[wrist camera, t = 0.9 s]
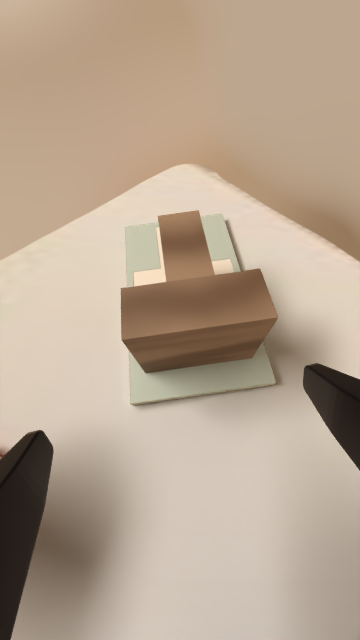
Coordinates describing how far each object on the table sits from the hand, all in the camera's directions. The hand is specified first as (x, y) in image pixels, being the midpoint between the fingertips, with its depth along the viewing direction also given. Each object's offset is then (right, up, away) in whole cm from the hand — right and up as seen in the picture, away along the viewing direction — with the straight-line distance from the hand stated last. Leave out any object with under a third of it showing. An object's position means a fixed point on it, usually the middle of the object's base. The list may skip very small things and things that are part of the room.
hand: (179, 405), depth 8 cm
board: (+1, +6, +19) cm, 20 cm away
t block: (+1, +3, +17) cm, 17 cm away
